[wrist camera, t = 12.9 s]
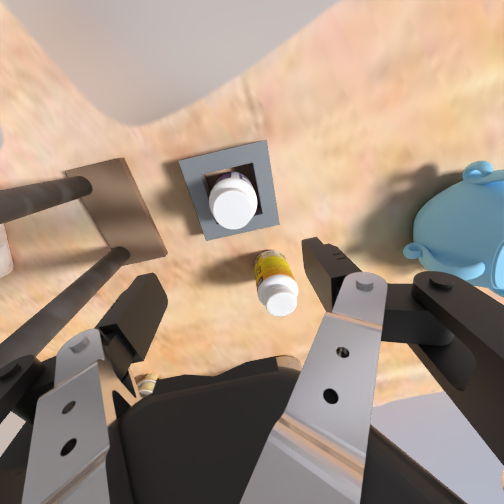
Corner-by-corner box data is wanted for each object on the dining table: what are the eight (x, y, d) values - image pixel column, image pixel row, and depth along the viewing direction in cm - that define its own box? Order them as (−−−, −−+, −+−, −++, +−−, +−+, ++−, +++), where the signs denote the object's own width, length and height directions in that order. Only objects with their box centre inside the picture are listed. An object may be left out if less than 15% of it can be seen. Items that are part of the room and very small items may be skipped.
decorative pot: (440, 274, 39) (533, 332, 27) (378, 242, 34) (456, 294, 22) (522, 195, 32) (693, 225, 20) (459, 144, 28) (630, 142, 16)
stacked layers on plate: (153, 396, 50) (144, 422, 45) (123, 379, 47) (109, 407, 42) (183, 379, 48) (177, 406, 43) (153, 361, 44) (143, 387, 40)
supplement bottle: (252, 249, 33) (259, 288, 24) (286, 247, 33) (305, 285, 24) (253, 278, 36) (259, 322, 27) (284, 276, 36) (301, 319, 27)
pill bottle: (214, 209, 30) (205, 235, 21) (214, 169, 27) (204, 180, 19) (251, 211, 30) (257, 237, 22) (254, 172, 28) (262, 184, 19)
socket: (275, 217, 31) (279, 224, 28) (208, 232, 31) (206, 240, 29) (263, 140, 26) (266, 139, 23) (184, 159, 26) (178, 160, 24)
